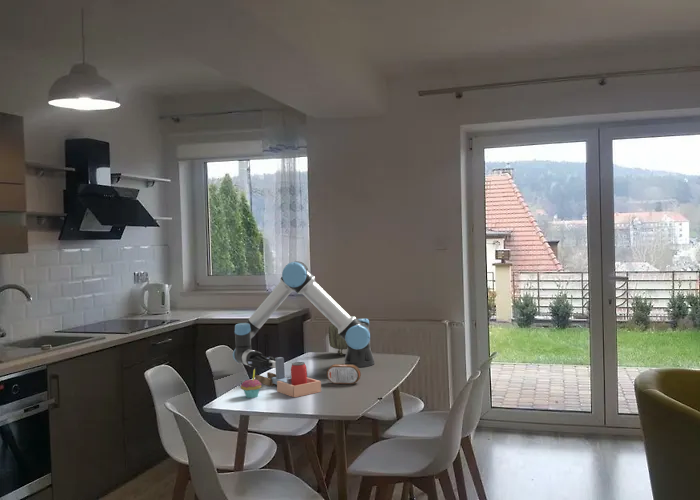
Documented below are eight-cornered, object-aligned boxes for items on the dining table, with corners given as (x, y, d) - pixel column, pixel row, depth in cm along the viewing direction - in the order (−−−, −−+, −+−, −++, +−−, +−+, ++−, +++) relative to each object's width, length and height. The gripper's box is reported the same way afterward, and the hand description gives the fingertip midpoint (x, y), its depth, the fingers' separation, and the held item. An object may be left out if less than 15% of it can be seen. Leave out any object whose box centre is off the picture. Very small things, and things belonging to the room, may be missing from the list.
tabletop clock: (358, 354, 348) (356, 308, 348) (348, 357, 341) (346, 310, 341) (338, 352, 357) (336, 308, 357) (328, 355, 350) (326, 309, 350)
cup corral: (277, 391, 270) (276, 381, 270) (303, 386, 277) (303, 376, 277) (294, 397, 258) (294, 386, 258) (321, 391, 266) (320, 381, 266)
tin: (361, 383, 279) (360, 364, 279) (359, 384, 276) (358, 365, 276) (328, 382, 283) (327, 363, 283) (326, 384, 280) (325, 365, 280)
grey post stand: (269, 384, 282) (268, 357, 281) (282, 381, 285) (281, 355, 285) (288, 390, 269) (287, 362, 268) (301, 387, 272) (300, 360, 272)
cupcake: (265, 394, 266) (264, 365, 266) (256, 399, 258) (254, 370, 258) (247, 393, 269) (246, 365, 268) (237, 398, 261) (236, 369, 260)
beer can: (302, 394, 264) (301, 365, 263) (288, 392, 267) (287, 364, 266) (310, 390, 269) (309, 362, 269) (297, 389, 272) (295, 361, 272)
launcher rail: (255, 381, 292) (254, 374, 292) (269, 378, 296) (269, 372, 296) (270, 386, 281) (269, 379, 281) (284, 383, 285) (284, 376, 285)
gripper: (265, 364, 304) (290, 371, 285) (240, 368, 297) (264, 376, 278) (264, 348, 304) (289, 354, 285) (240, 352, 297) (264, 359, 277)
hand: (277, 365), depth 281 cm, fingers closed
